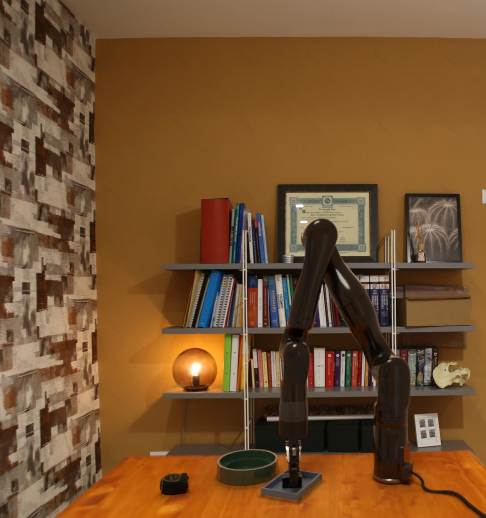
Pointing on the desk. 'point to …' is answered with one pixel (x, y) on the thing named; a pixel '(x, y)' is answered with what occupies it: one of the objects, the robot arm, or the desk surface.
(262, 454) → the bowl
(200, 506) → the desk surface
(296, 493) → the tray
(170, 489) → the tape measure
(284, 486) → the clip
